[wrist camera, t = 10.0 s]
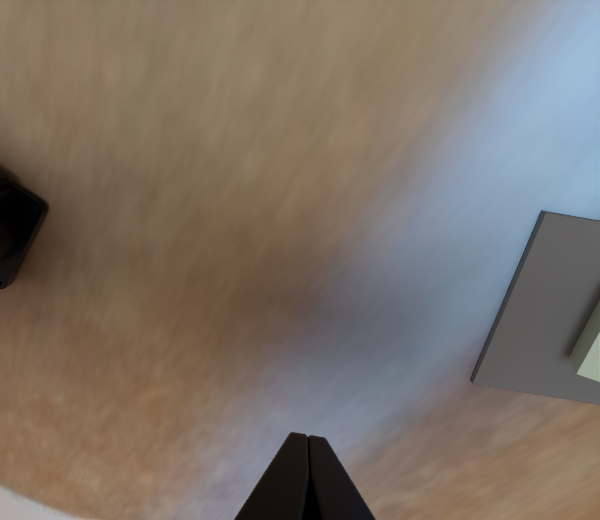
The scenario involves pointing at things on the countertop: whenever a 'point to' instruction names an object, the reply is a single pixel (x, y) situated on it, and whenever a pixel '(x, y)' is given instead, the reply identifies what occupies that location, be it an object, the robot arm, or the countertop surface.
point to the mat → (546, 313)
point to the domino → (588, 348)
